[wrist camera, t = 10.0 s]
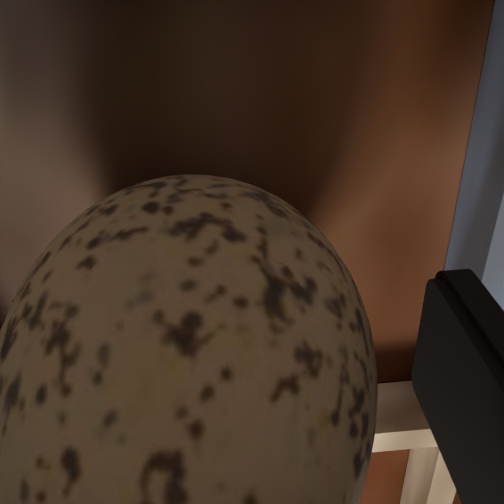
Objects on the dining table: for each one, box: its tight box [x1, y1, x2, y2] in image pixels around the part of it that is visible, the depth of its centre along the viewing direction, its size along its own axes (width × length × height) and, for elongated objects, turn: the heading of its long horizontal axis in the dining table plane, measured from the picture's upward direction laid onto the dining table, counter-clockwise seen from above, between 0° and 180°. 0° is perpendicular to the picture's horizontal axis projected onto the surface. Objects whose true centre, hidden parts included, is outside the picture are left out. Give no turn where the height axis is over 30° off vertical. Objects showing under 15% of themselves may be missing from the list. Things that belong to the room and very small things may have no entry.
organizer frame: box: [372, 0, 504, 504], centre depth 16 cm, size 16×30×2 cm, turn 4°
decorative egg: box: [0, 174, 378, 504], centre depth 9 cm, size 7×7×10 cm
